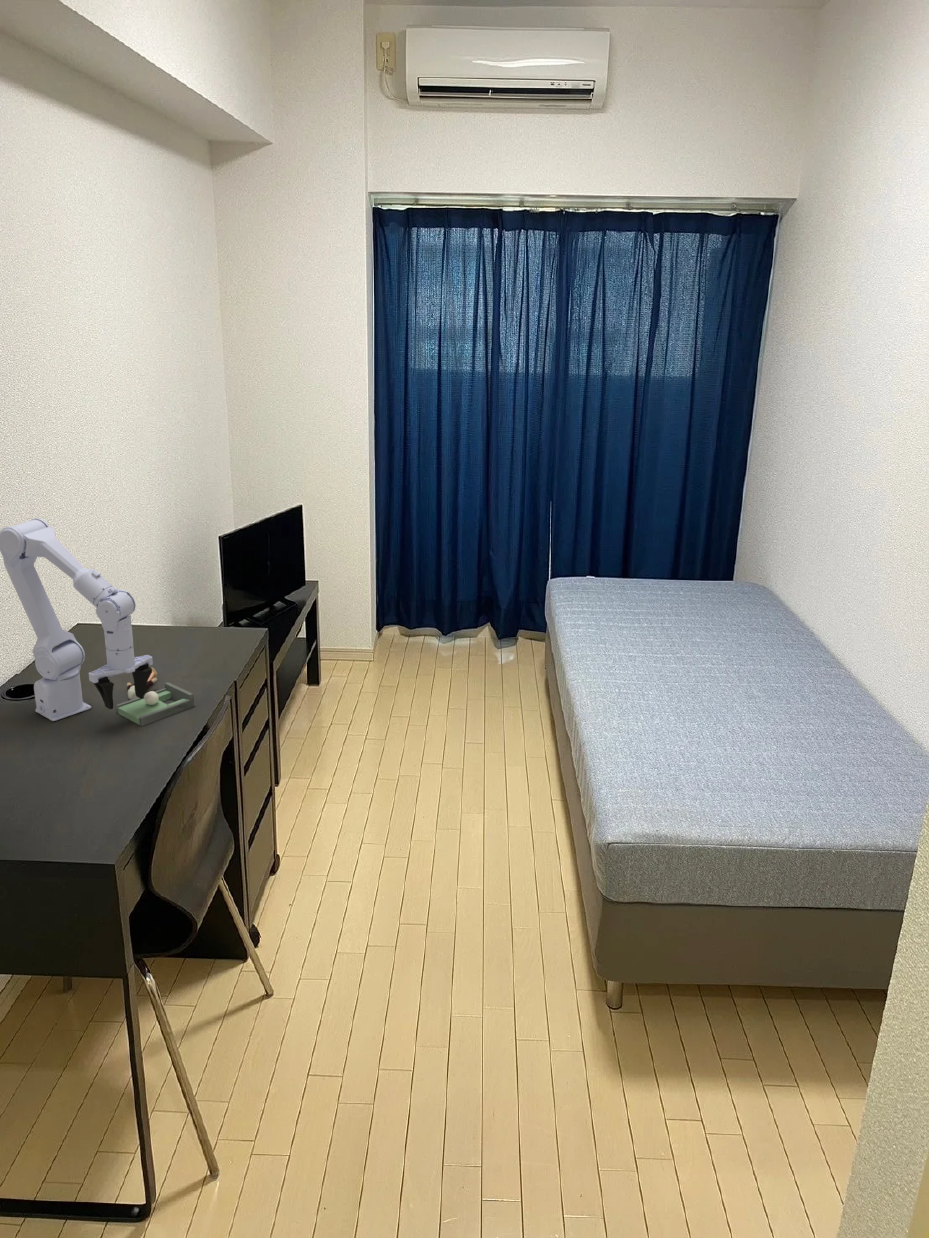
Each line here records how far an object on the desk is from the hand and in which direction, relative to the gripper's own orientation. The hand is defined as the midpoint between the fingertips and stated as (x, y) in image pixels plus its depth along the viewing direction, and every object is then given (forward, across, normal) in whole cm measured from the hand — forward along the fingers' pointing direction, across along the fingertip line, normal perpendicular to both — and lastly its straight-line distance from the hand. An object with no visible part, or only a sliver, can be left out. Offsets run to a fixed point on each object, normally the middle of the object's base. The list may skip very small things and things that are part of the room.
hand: (124, 702), depth 204 cm
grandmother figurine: (+3, +17, +15) cm, 23 cm away
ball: (+1, +7, 0) cm, 7 cm away
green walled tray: (+4, +8, 0) cm, 9 cm away
